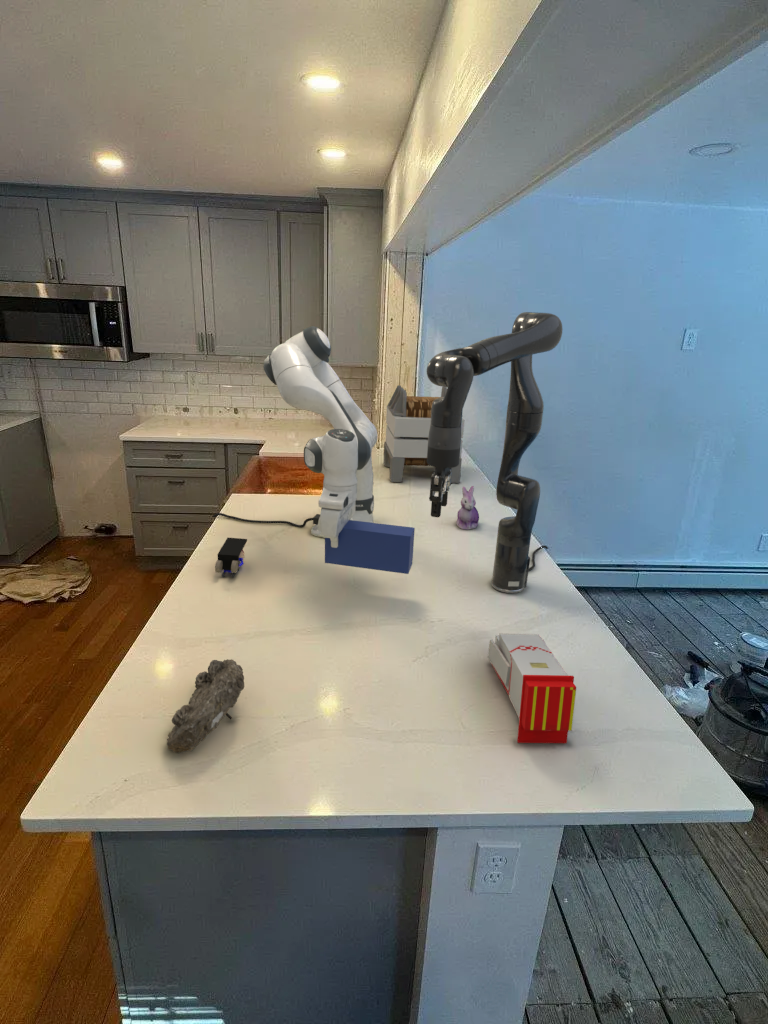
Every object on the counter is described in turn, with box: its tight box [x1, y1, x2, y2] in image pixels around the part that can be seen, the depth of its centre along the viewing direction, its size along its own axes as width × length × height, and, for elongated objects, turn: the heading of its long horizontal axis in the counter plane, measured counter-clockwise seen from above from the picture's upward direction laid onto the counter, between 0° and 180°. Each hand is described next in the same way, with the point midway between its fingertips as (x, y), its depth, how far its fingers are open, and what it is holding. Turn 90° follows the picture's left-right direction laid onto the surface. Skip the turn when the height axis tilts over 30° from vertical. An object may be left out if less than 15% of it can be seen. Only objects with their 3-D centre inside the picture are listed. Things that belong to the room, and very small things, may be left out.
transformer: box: [383, 384, 465, 484], centre depth 268 cm, size 34×33×41 cm
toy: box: [487, 632, 577, 744], centre depth 116 cm, size 12×13×30 cm
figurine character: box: [214, 537, 248, 578], centre depth 166 cm, size 7×8×15 cm
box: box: [324, 520, 416, 575], centre depth 151 cm, size 23×6×11 cm, turn 78°
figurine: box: [456, 485, 480, 530], centre depth 208 cm, size 9×10×15 cm
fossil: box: [166, 658, 245, 754], centre depth 106 cm, size 22×10×15 cm
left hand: (339, 541), depth 153 cm, fingers closed on box, 6 cm apart
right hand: (438, 510), depth 136 cm, fingers open, 8 cm apart
